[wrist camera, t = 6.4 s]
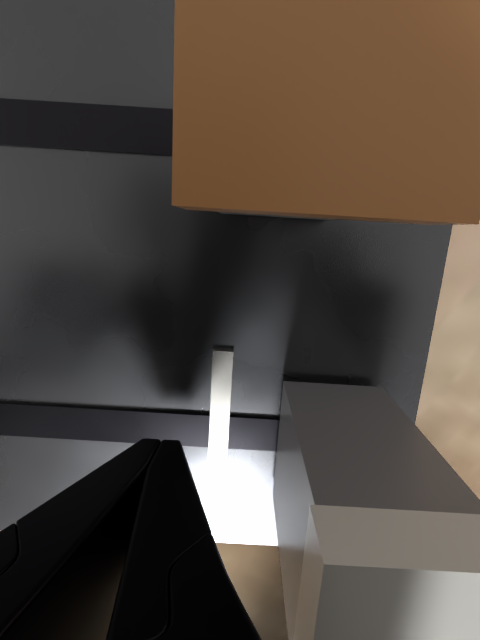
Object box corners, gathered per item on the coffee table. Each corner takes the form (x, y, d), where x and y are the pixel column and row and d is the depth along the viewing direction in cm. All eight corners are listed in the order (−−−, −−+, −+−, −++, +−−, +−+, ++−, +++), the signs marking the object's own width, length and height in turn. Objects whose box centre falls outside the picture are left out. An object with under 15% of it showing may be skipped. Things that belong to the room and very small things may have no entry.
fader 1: (215, 217, 8) (171, 204, 3) (223, 38, 7) (179, -361, 2) (334, 225, 8) (478, 224, 3) (355, 47, 7) (593, -334, 2)
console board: (-202, 486, 12) (-257, 518, 10) (-343, -60, 8) (-449, -111, 7) (376, 520, 12) (392, 556, 11) (466, -7, 8) (507, -48, 7)
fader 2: (268, 497, 10) (294, 779, 5) (279, 376, 9) (323, 563, 4) (367, 503, 10) (494, 790, 5) (387, 383, 9) (565, 578, 4)
